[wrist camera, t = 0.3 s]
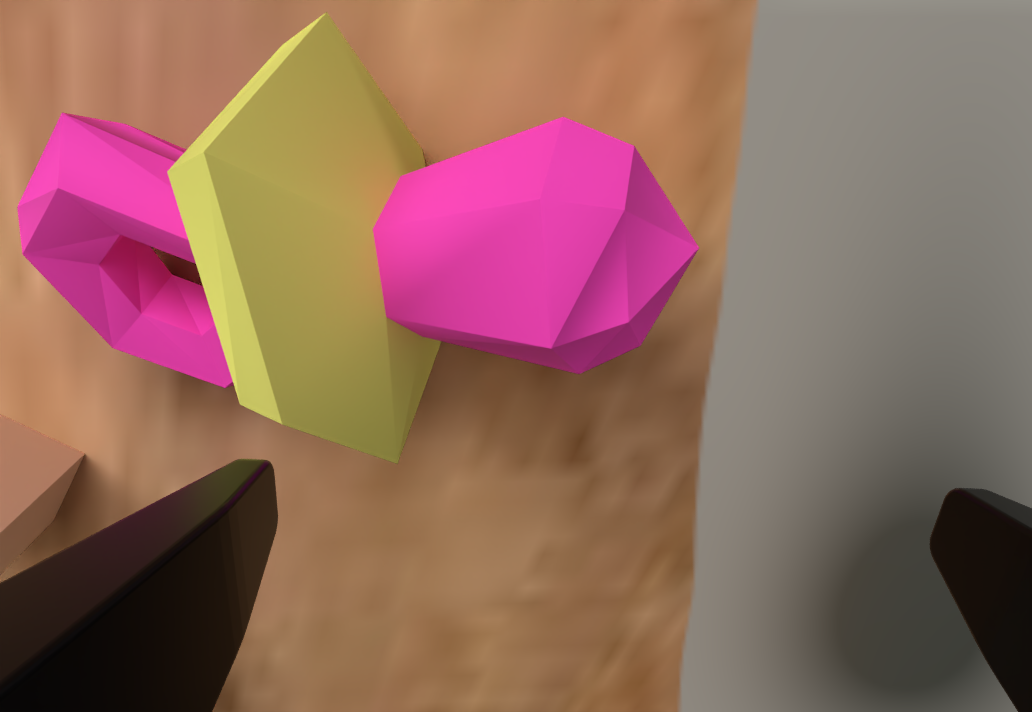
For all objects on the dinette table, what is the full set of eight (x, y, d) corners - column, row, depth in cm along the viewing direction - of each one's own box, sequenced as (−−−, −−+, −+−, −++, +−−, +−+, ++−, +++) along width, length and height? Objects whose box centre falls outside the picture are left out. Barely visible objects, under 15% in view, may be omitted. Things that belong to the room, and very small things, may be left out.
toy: (66, 25, 20) (-260, 256, 13) (700, -87, 15) (683, 200, 8) (240, 280, 27) (86, 510, 20) (704, 265, 22) (697, 567, 15)
